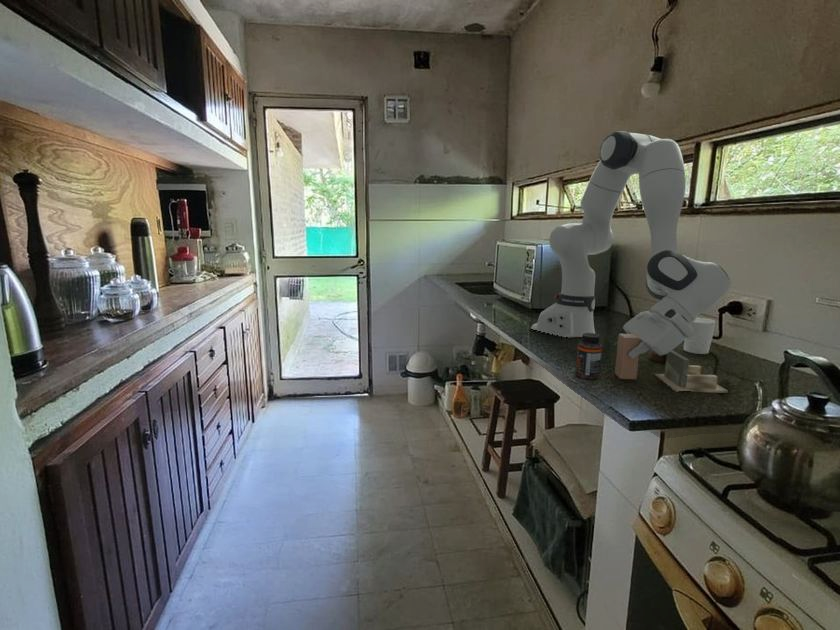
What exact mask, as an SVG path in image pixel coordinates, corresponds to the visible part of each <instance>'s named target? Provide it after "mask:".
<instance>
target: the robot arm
mask: <svg viewBox="0 0 840 630" xmlns="http://www.w3.org/2000/svg"><path fill="white" fill-rule="evenodd" d="M684 163H685V162H684V158H683V154H682V151H681V148H680V146H679V144H678V143H677V142H676V141H674V140H673V139H670V138H659V137H657V136H654V135H650V134H645V133H637V132H628V131H626V130H617V131H613V132H610V134H609V135H607V136H606V137H605V139H604V140H603V142H602V143H601V146H600V149H599V161H598V163H597V165H596V167H595V168H594V171H593V172H592V174H591V177H590V178H589V181H588V183H587V185H586V188H585V190H584V192H583V194H582V197H581V200H580V207H581V209H582V210H583V217H582V220H581V222H580V223H565V224H562V225H559V226H556V227H555V228H553V230H552V231H551V232H550V234H549V239H548V240H549V246H550V248H551V250H552V252H553V253H555V255H556V256H557V258H558V261H559V263H560V267H561V292H559V293H558V294H556V295H555V296H554V300H555V302H554V303H553V304H551V305H550V306H548V307H547V308H545V309H544V310H542V311H541V312H540V314H539V316H538V320H537V322H536V323H533V324H532V325H531V327H530V330H531V329H533V330H537V331H536V332H538V331H541V332H540V333H543V332H545V333H544V334H547V333H549V335H552V334H553V336H557V335H558V336H557V337H561V336H562V338H566V337H568V339H569V338H582V336H583V334H584V333H594V334H596V331H595V329H596V328H595V325H594V323H595V322H594V310H595V304H596V295H595V286H596V273H595V271H594V269H593V268H591V266H590V264H589V261H588V260H589V259H588V256H590V255H592V256H593V255H595V256H596V255H598V254H600V253H604V252H607V251H608V250H609V249H611V248H612V247H611V246H612V245H613V242H614V233H613V231H612V229H611V226H612V225H611V224H612V219H613V215H614V212H615V209H616V207H617V205H618V203H619V201H620V199H621V197H622V195H623V193H624V190H625V189H626V186H627V183H628V181H629V179H630V178H631V177H632V176H633V175H638V188H639V195H640V200H641V205H642V208H643V211H644V214H645V218H646V221H647V224H648V227H649V232H650V244H651V257H650V258H649V260H648V263H647V266H646V280H645V288H646V291H647V292H648V294H649V295H650V296H651V297H652V298H654V299H656V300H659V301H657V303H656V304H654V305H652V307H651V308H650V310H648V311H647V310H646V311H645V310H644V311H641V312H639V313H638V314H637V315H635V316H634V317H632V318H631V319H629V320H628V321H627V322H626V323H625V324H624V325H623V327H622V329H623V330H624V331H625V333H626V334H634V335H635V336H637V337H639V339H640V340H641V342H640V344H639V346H637V347H635V348H634V349H632V348H631V349H630V350H629V351H628V352H627V354H628V355H629V356H630V357H631V358H632V359H634V358H635V357H636V356H638V355H639V356H640V355H642V354H645V353H647V352H648V351H649V350H652V351H654V352H655V353H657V354H658V355H660V356H662V355H665V354H667V353H669V352H670V351H672V350H673V351H674V350H675V348H677V347H678V346H679V345H681V344H682V343H684V339H685V337H686V338H689V337H691V336H692V335H694V333H695V332H694V330H693V328H692V327H691V325H690V324H691V323H692V322H693V321H694V320H695V319H696V318H698V316H700V314H702V313H704V312H707V311H708V310H710V308H712V307H713V306H714V305H715V304H716V303H718V302H719V300H721V298H723V297H724V296H725V295H726V294H727V292H728V291H729V289H730V287H731V280H730V277H729V276H728V275H729V274H727V272H726V271H725V270H724V269H723V268H722V267H721V266H720V265H719V264H717V263H715V262H712V261H701V260H696V259H694V258H691V257H687V255H684V254H682V253H681V252H679V251H678V239H677V232H678V231H677V230H678V225H679V224H678V223H679V218H680V215H681V212H682V209H683V204H684V200H685V193H686V186H687V185H686V184H687V183H686V179H687V178H686V169H685V168H686V167H685V164H684ZM533 330H532V331H533Z"/></svg>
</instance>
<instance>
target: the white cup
mask: <svg viewBox="0 0 840 630" xmlns="http://www.w3.org/2000/svg"><path fill="white" fill-rule="evenodd" d="M690 325H691V327H692V328H693V330H694V332H695V333H694V335H692V336H691V337H689V338H686V337H685V339H684V341H683V351H685V352H686V353H691V354H694V355H695V354H697V355H708V354H709V352H710V347H711V344H712V341H713V337H714V332H715V326H716V321H715V320H714V319H710V318H703V317H696V319H695V320H694V321H693V322H692V323H691V324H690Z"/></svg>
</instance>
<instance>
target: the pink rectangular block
mask: <svg viewBox="0 0 840 630" xmlns="http://www.w3.org/2000/svg"><path fill="white" fill-rule="evenodd" d="M617 337H618V338H617V350H616V358H615V367H614V368H615V369H614V374H615V375H616V377H618V378H619V379H620V380H637V377H638V369H639V367H638V366H639V360H640V359H639V357H640V355H638V356H636V357H635V358H634V359H632V358H631V357H630V356H629V355H628V354H627V352H628V351H629V350H630V349H631V348H632V349H634V348H635V347H637V346H639V344H640V342H641V340H640V339H639V337H637V336H635V335H634V334H628V333H618V336H617Z"/></svg>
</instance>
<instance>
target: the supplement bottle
mask: <svg viewBox="0 0 840 630" xmlns="http://www.w3.org/2000/svg"><path fill="white" fill-rule="evenodd" d="M599 340H600V334H597V333H595V334H594V333H584V334H583V336H582V337H581V341H579V342H577V351H576V362H575V364H576V365H575V375H576V376H577V377H578V376H579V377H578V378H580V377H581V379H583V380H597V379H598V378H600V374H601V364H602V356H603V355H602V353H603V345H602V344H601V343H600V342H599Z"/></svg>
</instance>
